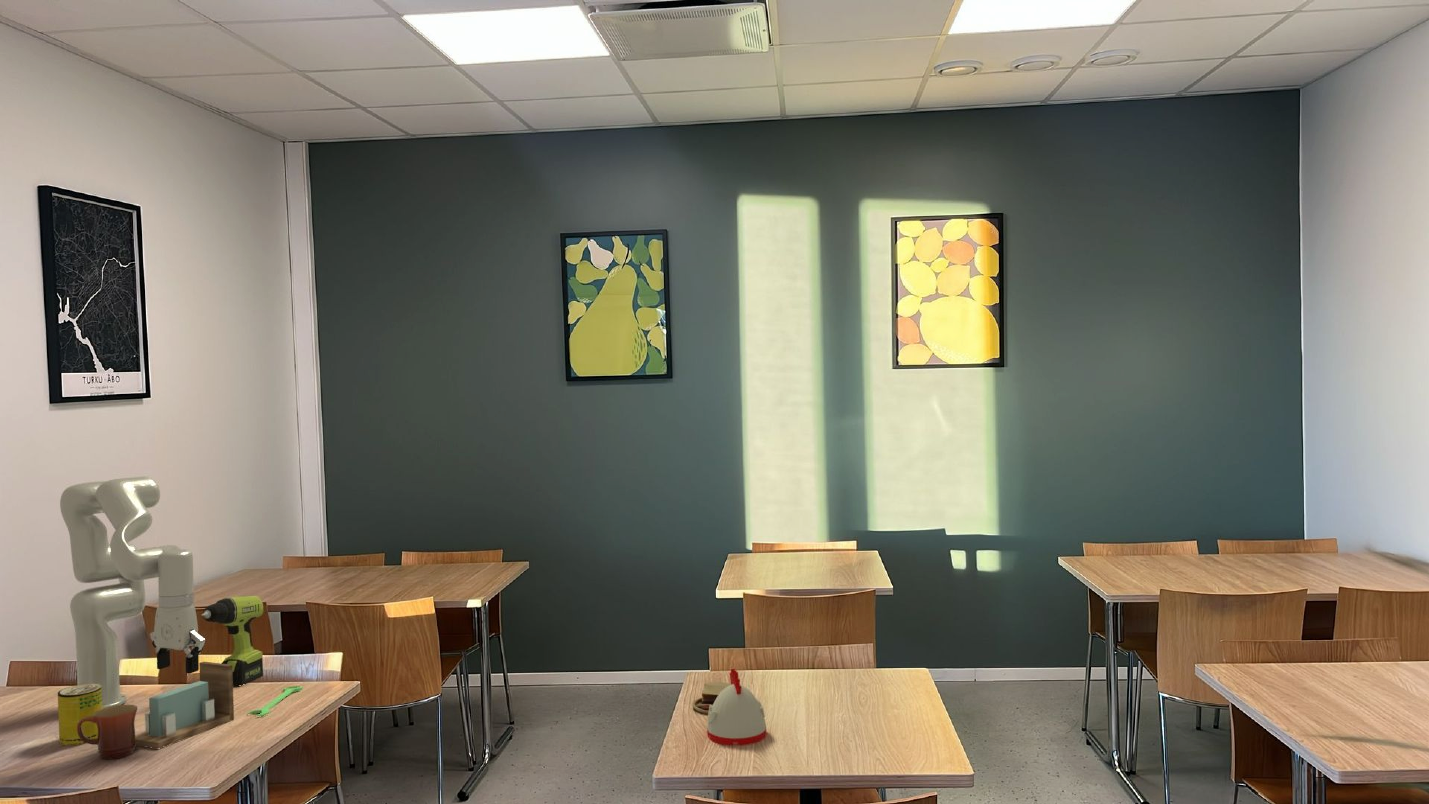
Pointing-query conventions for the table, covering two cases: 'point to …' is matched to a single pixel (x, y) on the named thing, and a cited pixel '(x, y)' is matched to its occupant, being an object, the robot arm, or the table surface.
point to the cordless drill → (239, 634)
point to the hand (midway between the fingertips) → (177, 670)
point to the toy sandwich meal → (709, 696)
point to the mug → (112, 731)
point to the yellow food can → (78, 712)
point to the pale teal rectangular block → (178, 706)
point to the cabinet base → (213, 709)
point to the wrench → (276, 700)
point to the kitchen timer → (736, 716)
